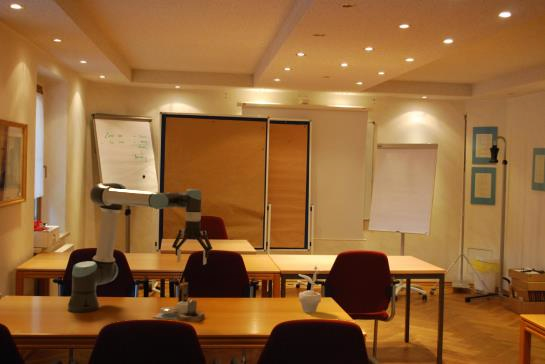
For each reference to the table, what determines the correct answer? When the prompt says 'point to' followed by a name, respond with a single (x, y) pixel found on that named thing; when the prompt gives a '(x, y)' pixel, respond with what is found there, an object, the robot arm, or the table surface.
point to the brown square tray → (191, 317)
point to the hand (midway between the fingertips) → (191, 263)
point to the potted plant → (310, 296)
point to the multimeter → (183, 290)
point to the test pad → (169, 310)
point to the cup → (182, 307)
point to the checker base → (166, 316)
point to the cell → (192, 308)
